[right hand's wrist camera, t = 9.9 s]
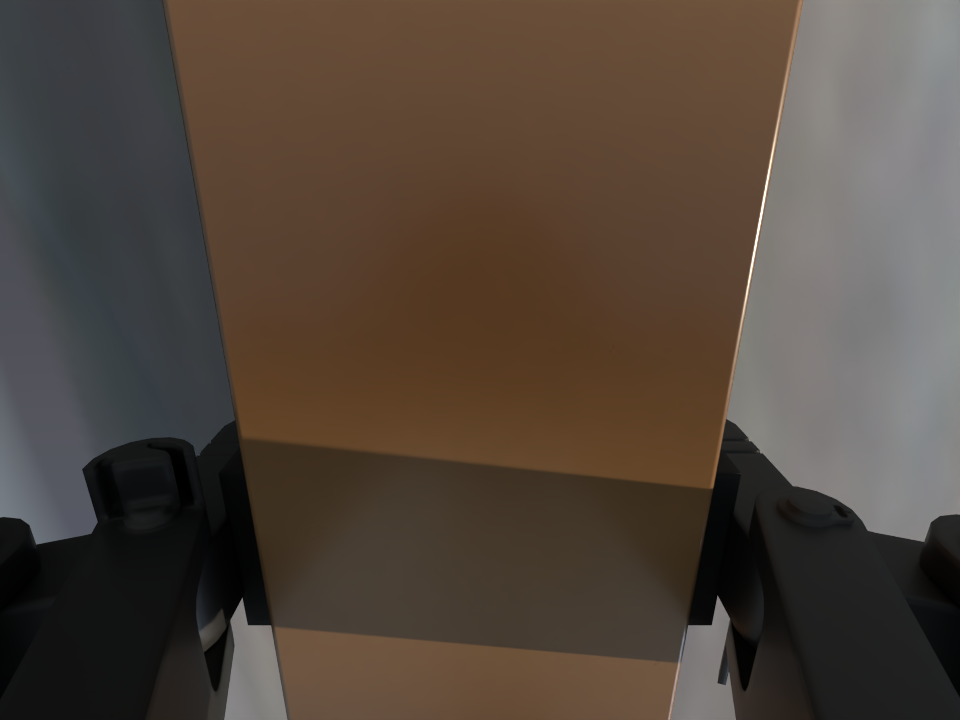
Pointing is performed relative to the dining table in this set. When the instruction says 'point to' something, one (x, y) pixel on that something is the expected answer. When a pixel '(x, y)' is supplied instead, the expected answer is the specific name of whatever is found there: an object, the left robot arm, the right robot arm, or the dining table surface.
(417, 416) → the post
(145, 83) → the dining table surface
